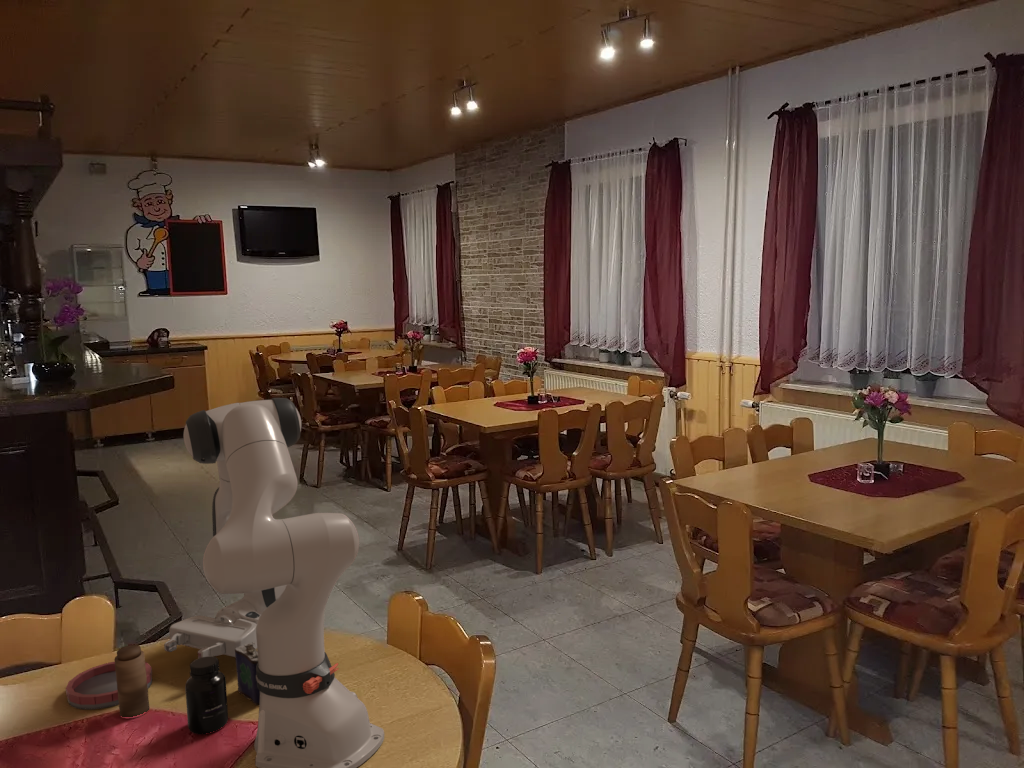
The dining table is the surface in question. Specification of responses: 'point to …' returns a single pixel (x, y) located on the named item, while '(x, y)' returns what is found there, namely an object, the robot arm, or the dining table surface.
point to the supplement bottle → (206, 696)
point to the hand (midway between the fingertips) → (183, 651)
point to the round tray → (97, 687)
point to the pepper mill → (131, 681)
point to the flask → (247, 672)
